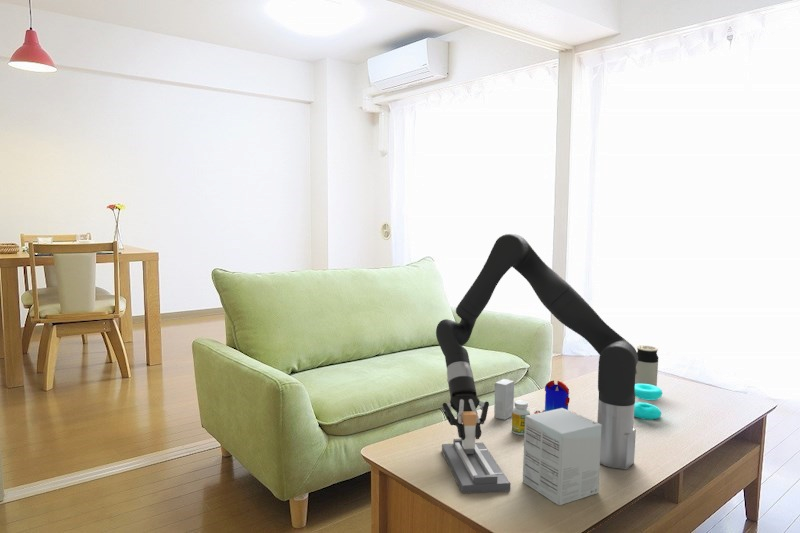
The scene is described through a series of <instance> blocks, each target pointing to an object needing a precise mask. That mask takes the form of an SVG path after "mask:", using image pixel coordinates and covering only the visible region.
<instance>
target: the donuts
mask: <svg viewBox="0 0 800 533" xmlns="http://www.w3.org/2000/svg"><path fill="white" fill-rule="evenodd" d="M662 395H663V390H662V389H661V388H660V387H659V386H657V387H656V386H654V385H650V384H635V398H638V399H639V400H645V401H646V400H647V401H654V400H658V399H660V398H662ZM661 415H662V411H661V409H660V408H659V407H657V406H656V405H654V404H651V403H648V402H643V401H642V402H635V408H634V418H638V419H641V420H642V419H643V420H650V421H651V420H653V421H654V420H656V419H659V418H660V417H661Z"/></svg>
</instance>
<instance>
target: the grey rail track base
mask: <svg viewBox="0 0 800 533" xmlns="http://www.w3.org/2000/svg"><path fill="white" fill-rule="evenodd" d="M441 451H442V454H443V457H444V458H445V460H446V462H447V464H448V467H449V469H450V471H451V473H452V475H453V477H454V479H455V481H456V483H457V485H458V487H459V490H460V492H461V494H477V493H478V494H479V493H493V492H494V493H496V492H497V493H498V492H510V491H511V481H510V480H509V479H508V477H507V475H506V474H505V473H504V470H502V469H501V467H500V465H499V464H498V463H497V461H496V459H495V458H494V456H493V455H492V454H491V452H490V451H489V449H488V448H487V446H486V445H485V442H482V441H481V442H475V449H474V454H465V452H464V450H463V446H462V440H461V438H453V443H442V444H441Z"/></svg>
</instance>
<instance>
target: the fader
mask: <svg viewBox="0 0 800 533" xmlns="http://www.w3.org/2000/svg"><path fill="white" fill-rule="evenodd" d="M462 419H463V420H462V424H463V425H464V431H465V439H464V440H462V446H463V450H464V452H465V454H474V449H475V443H476V438H475V428H476V422H477V414H476V413H475V412H474V411H463V412H462Z"/></svg>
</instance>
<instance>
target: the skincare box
mask: <svg viewBox="0 0 800 533" xmlns="http://www.w3.org/2000/svg"><path fill="white" fill-rule="evenodd" d="M514 397H515V381H514V380H511V379H508V378H507V379H506V378H502V379H501V380H497V381H496V382H494V404H493V405H494V408H493V409H494V412H493V414H494V416H493V417H494V418H496V419H500V420H503V421H506V420H507V419H509V418H512V410H513V408H514V407H515V406H514V405H515V401H514V400H515V399H514Z"/></svg>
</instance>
